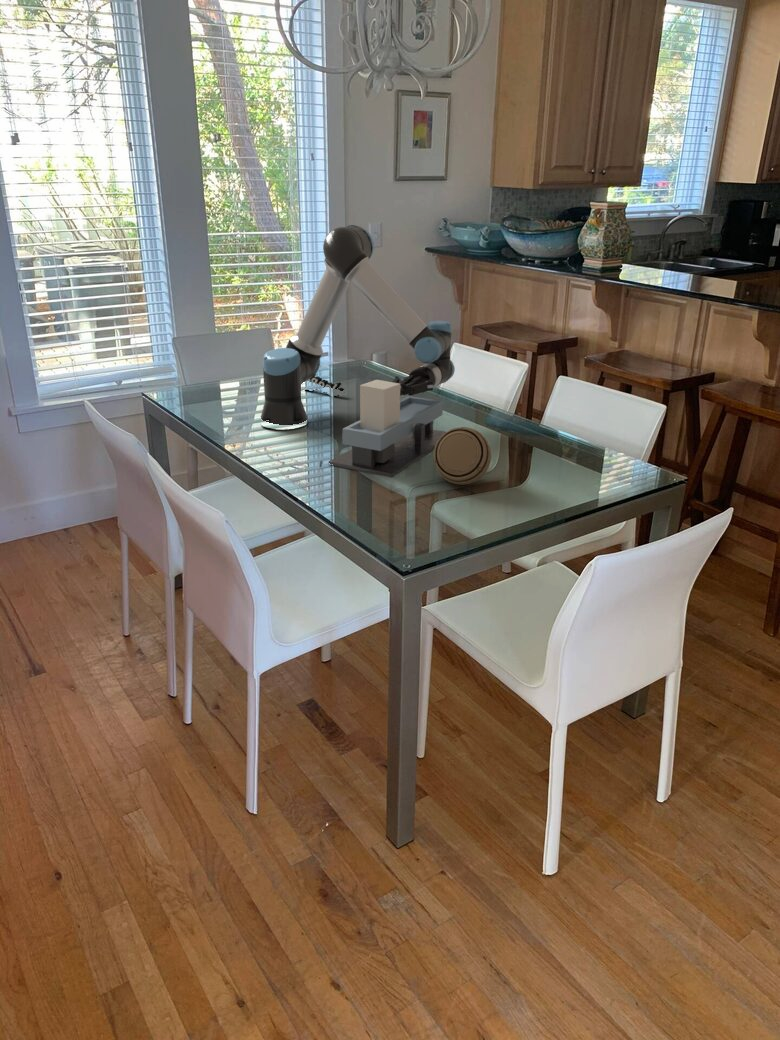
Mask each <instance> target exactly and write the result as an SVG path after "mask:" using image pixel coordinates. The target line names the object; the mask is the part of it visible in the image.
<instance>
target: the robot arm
mask: <svg viewBox="0 0 780 1040" xmlns="http://www.w3.org/2000/svg"><path fill="white" fill-rule="evenodd" d="M374 243H375V242H374V239H373V236H372V235H371V234H370V233H369V231H368V230H367V229H366V228H364V227H362V226H359V225H356V224H349V225H346V226H340V227H336V228H334V229H332V230H330V232H328V233H327V235H326V236H325V238H324V241H323V246H322V247H323V248H322V250H323V256H324V260H323V262H324V265H325V270H324V272H323V275H322V277H321V279H320V282H319V284H318V286H317V289H316V290H315V293H314V295H313V297H312V299H311V301H310V304H309V306H308V308H307V310H306V313H305V315H304V317H303V319H302V322H301V324H300V327H299V329H298V330H297V334H293V335H291V336H290V338H289V339H288V342H287V344H286V346H285V347H279V348H276V349H271V350H268V351H267V352H265V353H264V355H263V357H262V365H261V366H262V374H263V376H262V377H263V391H264V392H263V393H264V403H263V407H262V409H261V410H262V411H261V414H260V417H261V419H262V420H263V421H266V420H269V421H266V422H269V423H273V424H279V425H293V424H299V423H302V422H304V421H306V420H307V421H308V415H307V413H306V410H305V407H304V403H303V400H302V390H301V384H302V383H303V382H305V381H307V380H309V379H311V378H312V377H313V376H314V375H315V374H316V375H317V373H318V371H319V369H320V366H321V358H322V356H323V353H324V350H323V348H322V344H323V342H324V340H325V338H326V337H327V333H328V331H329V329H330V328H331V326H332V325H331V324H332V322H333V320H334V318H335V317H336V314H337V312H338V310H339V308H340V305H341V303H342V302H343V299H344V297H345V294H346V293H347V290H348V288H349V286H350V284H352V285H353V286H354V288H356V290H357V291H358V292H360V294H361V295H362V296H363V297H365V299H366V300H367V301H368V302H369V303H370V305H371V306H373V307H374V308H375V310H377V312H379V314H380V315H381V316H382V317H383V318H384V320H386V321H387V322H388V324H390V326H392V328H394V330H395V331H396V332H397V333H398V334H399V335H400V336H401V338H403V339H404V340H405V341H406V343H408V345H410V347H411V348H412V349H413V350H414V352H413V353H414V356H415V357H416V359H417V360H418V362H421V363H423V365H421V366H419V367H416V368H414V369H413V370H412V371H410V373H409V375H408V376H405V377H403V378H401V377H399V375H398V376H394V379H393V380H391V382H393V383H399V384H400V397H401V396H415V395H418V394H422V393H426V392H429V391H433V390H434V388H435V387H438V386H440V385H442V384H445V383H447V382H448V381H450V379H451V378H453V376H454V374H455V370H456V369H455V365H454V363H453V361H452V360H451V347H452V334H453V333H452V324H451V322H449V321H445V320H432V321H429V322H428V323H427V324H426V323H425V322H424V321H423V319H421V318H420V316H418V314H417V313H416V312H415V311H414V310H413V309H412V308H411V307H410V306H409V304H408V303H407V302H406V301H405V300H404V299H403V298H402V297H401V296H400V295H399V294H398V293H397V291H395V289H394V288H393V287H392V286H390V284H389V283H388V281H386V280H385V279H384V278H383V277H382V276H381V275H380V273H379V272H378V271H377V270H376V269H375V268H374V267H373V266H372V265H371V264H370V262H369V261H370V259H371V258H372V256H373V254H374V249H375V245H374Z"/></svg>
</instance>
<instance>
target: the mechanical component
mask: <svg viewBox="0 0 780 1040" xmlns="http://www.w3.org/2000/svg"><path fill="white" fill-rule="evenodd" d="M445 432H446V433H444V434H443V435H442V436H441V437H440V438H439V440H438V441H437V443H436V445H435V448H434V450H433V456H432V458H433V464H434V467H435V469H436V471H437V472H438V474H439V475H440V476H441V477H442V478H443V479H444V480H446V481H447V482H449V483H452V484H453V485H459V486H466V485H470V484H473V483H476V482H477V481H479V480H480V479H481V478H483V476H485V475H486V473H487V471H488V470H489V467H490V465H491V462H492V461H491V460H492V451H491V447H490V444H489V442H488V440H487V439H486V437H485V436H484V435H483V433H481V432H479V431H478V430H476V429H475V428H474V429H473V428H470V427H466V426H460V427H454V428H450V429H449V430H447V431H445Z"/></svg>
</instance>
